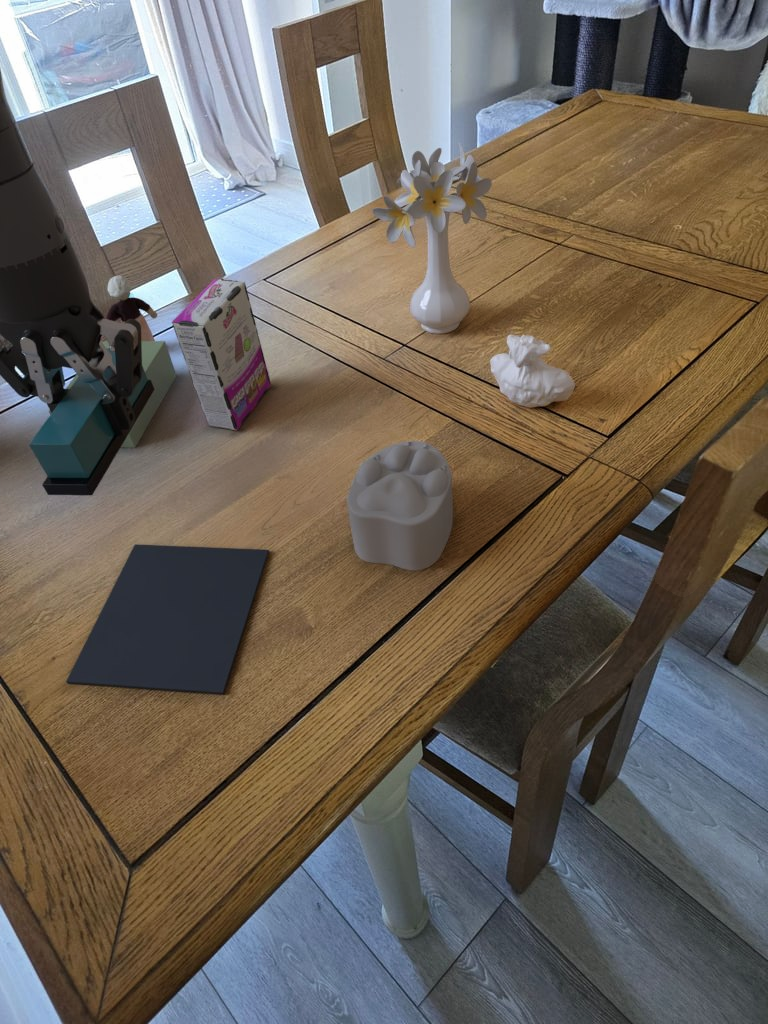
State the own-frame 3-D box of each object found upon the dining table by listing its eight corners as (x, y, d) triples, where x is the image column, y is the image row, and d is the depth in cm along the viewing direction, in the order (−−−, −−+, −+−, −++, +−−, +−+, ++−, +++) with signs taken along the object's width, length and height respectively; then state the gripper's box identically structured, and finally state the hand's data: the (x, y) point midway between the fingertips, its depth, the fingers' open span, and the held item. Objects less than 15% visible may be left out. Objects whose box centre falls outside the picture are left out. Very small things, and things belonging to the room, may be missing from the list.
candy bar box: (242, 381, 103) (213, 277, 91) (272, 385, 101) (247, 280, 90) (204, 427, 95) (169, 320, 84) (237, 432, 94) (205, 324, 82)
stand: (66, 446, 95) (48, 411, 91) (115, 375, 107) (101, 341, 102) (135, 447, 93) (119, 412, 89) (177, 375, 105) (165, 340, 101)
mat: (67, 683, 68) (65, 681, 67) (135, 546, 80) (134, 544, 80) (224, 694, 65) (222, 692, 65) (269, 551, 78) (268, 549, 78)
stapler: (92, 495, 57) (68, 450, 54) (47, 495, 57) (21, 450, 54) (155, 389, 67) (138, 346, 64) (116, 389, 68) (98, 347, 65)
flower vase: (374, 347, 106) (356, 176, 89) (431, 292, 117) (426, 130, 99) (450, 366, 101) (447, 189, 83) (503, 307, 112) (510, 139, 94)
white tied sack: (487, 400, 98) (462, 371, 88) (509, 351, 98) (486, 316, 88) (566, 426, 93) (548, 398, 83) (589, 374, 93) (574, 340, 83)
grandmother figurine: (159, 338, 114) (133, 264, 105) (170, 347, 111) (144, 272, 102) (115, 357, 110) (85, 282, 101) (126, 366, 108) (95, 291, 99)
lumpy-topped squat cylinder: (344, 557, 76) (333, 500, 70) (381, 479, 85) (375, 423, 79) (435, 575, 74) (432, 518, 67) (464, 493, 82) (464, 435, 76)
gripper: (-109, 268, 48) (8, 457, 60) (81, 260, 46) (163, 458, 58) (-50, 223, 53) (47, 405, 65) (123, 214, 51) (190, 404, 63)
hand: (101, 429), depth 62 cm, fingers closed on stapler, 4 cm apart
